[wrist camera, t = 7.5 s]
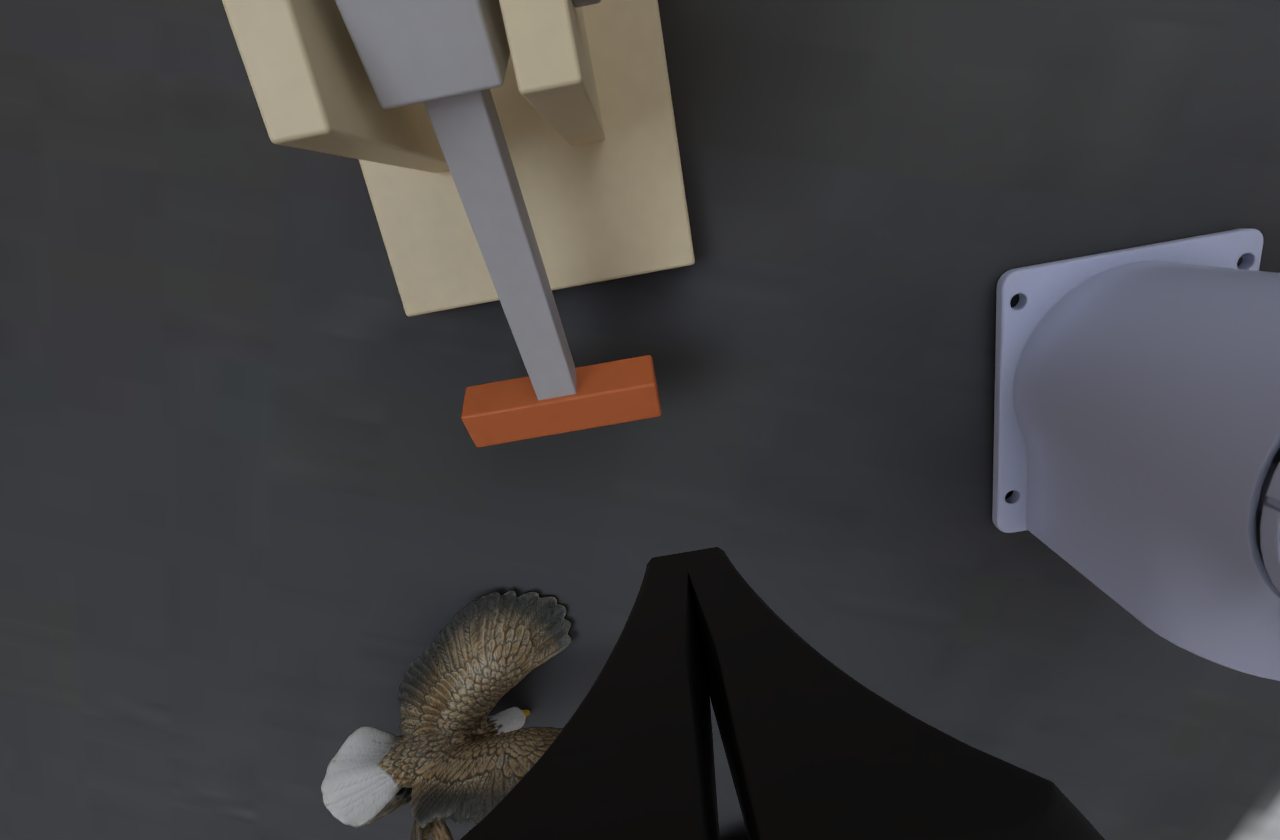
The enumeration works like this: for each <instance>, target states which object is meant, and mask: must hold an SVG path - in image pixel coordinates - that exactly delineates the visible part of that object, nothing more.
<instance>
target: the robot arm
mask: <svg viewBox="0 0 1280 840" xmlns="http://www.w3.org/2000/svg"><path fill="white" fill-rule="evenodd" d="M1262 248H1263V235H1262V234H1261V232H1260V231H1258V230H1257V229H1244V228H1239V229H1234V230H1228V231H1223V232H1217V233H1211V234H1206V235H1200V236H1195V237H1189V238H1183V239H1178V240H1172V241H1166V242H1161V243H1155V244H1150V245H1144V246H1138V247H1133V248H1127V249H1122V250H1116V251H1110V252H1105V253H1099V254H1093V255H1088V256H1082V257H1077V258H1071V259H1065V260H1060V261H1054V262H1049V263H1043V264H1037V265H1032V266H1026V267H1020V268H1015V269H1011V270H1008V271H1006V272H1005V273H1004V274H1003V275H1001V277H1000V279H999V280H998V283H997V293H996V346H995V399H994V453H993V506H992V520H993V524H994V525H995V526H996V527H997V528H998V529H999V530H1000V531H1002V532H1005V533H1013V532H1019V531H1025V530H1028V531H1029V532H1031V533H1032V534H1033V535H1034V536H1036V537H1037V538H1038V539H1039V540H1040V541H1042V542H1043V543H1044V544H1045V545H1047V546H1048V547H1049V548H1050V549H1052V550H1053V551H1054V552H1055V553H1056V554H1058V555H1059V556H1060V557H1061V558H1063V559H1064V560H1065V561H1066V562H1068V563H1069V564H1070V565H1071V566H1072V567H1074V568H1075V569H1076V570H1077V571H1079V572H1080V573H1081V574H1082V575H1084V576H1085V577H1086V578H1087V579H1088V580H1090V581H1091V582H1092V583H1093V584H1095V585H1096V586H1097V587H1098V588H1100V589H1101V590H1102V591H1103V592H1104V593H1106V594H1107V595H1108V596H1109V597H1111V598H1112V599H1113V600H1114V601H1116V602H1117V603H1118V604H1119V605H1120V606H1122V607H1123V608H1124V609H1125V610H1127V611H1128V612H1129V613H1130V614H1132V615H1133V616H1134V617H1135V618H1136V619H1138V620H1139V621H1140V622H1141V623H1143V624H1144V625H1145V626H1146V627H1148V628H1149V629H1151V630H1152V631H1154V632H1155V633H1157V634H1158V635H1159V636H1161V637H1163V638H1165V639H1166V640H1168V641H1170V642H1172V643H1173V644H1175V645H1177V646H1179V647H1181V648H1183V649H1185V650H1187V651H1189V652H1192V653H1194V654H1196V655H1198V656H1200V657H1203V658H1205V659H1208V660H1210V661H1213V662H1215V663H1218V664H1220V665H1223V666H1226V667H1228V668H1231V669H1234V670H1237V671H1241V672H1244V673H1247V674H1251V675H1254V676H1258V677H1262V678H1267V679H1271V680H1277V681H1280V273H1274V272H1264V271H1259V266H1260V260H1261V254H1262ZM1241 256H1242V262H1241V264H1240V265H1239V266H1238V267H1237V262H1238V259H1239V258H1240V257H1241ZM1016 294H1019V302H1018V304H1017V305H1016V306H1015V307H1012V308H1011V305H1010V301H1011V298H1012V297H1013V296H1014V295H1016ZM1012 490H1013V494H1012V495H1011V496H1010V497H1009V498H1006V499H1005V496H1006V494H1007V493H1008V492H1009V491H1012ZM710 698H711V702H712V706H713V709H714V713H715V717H716V720H717V724H718V728H719V731H720V735H721V738H722V742H723V746H724V749H725V753H726V757H727V760H728V764H729V768H730V771H731V775H732V778H733V782H734V786H735V789H736V793H737V797H738V800H739V804H740V807H741V811H742V815H743V819H744V823H745V827H746V832H747V836H748V840H1105V839H1104V838H1103V837H1102V836H1101V835H1100V834H1099V832H1098V831H1097V830H1096V829H1095V828H1094V827H1093V826H1092V824H1091V823H1090V822H1089V821H1088V820H1087V819H1086V818H1085V817H1084V816H1083V815H1082V814H1081V812H1080V811H1079V810H1078V809H1077V808H1076V807H1075V806H1074V805H1073V804H1072V803H1071V802H1070V801H1069V800H1068V798H1067V797H1066V796H1065V795H1064V794H1063V793H1062V792H1061V791H1060V790H1059V789H1058V788H1057V786H1056V785H1055V784H1054V783H1052V782H1051V781H1049V780H1046V779H1044V778H1042V777H1040V776H1037V775H1035V774H1033V773H1030V772H1028V771H1026V770H1024V769H1021V768H1019V767H1017V766H1014V765H1012V764H1010V763H1008V762H1005V761H1003V760H1001V759H998V758H996V757H994V756H992V755H989V754H987V753H985V752H982V751H980V750H978V749H976V748H973V747H971V746H969V745H967V744H965V743H963V742H961V741H959V740H957V739H955V738H953V737H951V736H949V735H947V734H945V733H943V732H941V731H940V730H938V729H936V728H934V727H932V726H930V725H928V724H926V723H924V722H922V721H920V720H919V719H917V718H915V717H913V716H912V715H910V714H908V713H907V712H905V711H903V710H902V709H900V708H898V707H897V706H895V705H893V704H892V703H890V702H888V701H887V700H885V699H884V698H882V697H880V696H879V695H877V694H875V693H874V692H872V691H870V690H869V689H867V688H866V687H864V686H863V685H862V684H860V683H859V682H857V681H856V680H854V679H853V678H852V677H850V676H849V675H847V674H846V673H844V672H843V671H842V670H840V669H839V668H838V667H837V666H835V665H834V664H833V663H831V662H830V661H829V660H827V659H826V658H825V657H823V656H822V655H821V654H820V653H819V652H817V651H816V650H815V649H814V648H812V647H811V646H810V645H809V644H808V643H807V642H805V641H804V640H803V639H802V638H801V637H800V636H799V635H798V634H796V633H795V632H794V631H793V630H792V629H791V628H790V627H789V626H788V625H787V624H786V623H784V622H783V621H782V620H781V619H780V618H779V617H778V616H777V615H776V614H775V613H774V612H773V611H772V610H771V609H770V608H769V606H768V605H767V604H766V603H765V602H764V601H763V600H762V599H761V598H760V597H759V596H758V595H757V594H756V593H755V592H754V590H753V589H752V588H751V587H750V586H749V585H748V584H747V582H746V581H745V580H744V579H743V577H742V576H741V575H740V574H739V572H738V571H737V570H736V569H735V567H734V566H733V565H732V563H731V562H730V560H729V559H728V557H727V556H726V554H725V552H724V551H723V550H721V549H720V548H718V547H715V548H709V549H703V550H697V551H691V552H685V553H679V554H672V555H666V556H660V557H654V558H652V559H651V560H650V561H649V563H648V564H647V568H646V572H645V576H644V579H643V582H642V585H641V588H640V591H639V594H638V596H637V599H636V602H635V604H634V606H633V609H632V611H631V613H630V616H629V618H628V620H627V622H626V625H625V627H624V629H623V631H622V633H621V636H620V638H619V639H618V641H617V643H616V645H615V647H614V649H613V651H612V653H611V655H610V656H609V658H608V660H607V662H606V664H605V666H604V668H603V669H602V671H601V673H600V675H599V676H598V678H597V680H596V681H595V683H594V685H593V686H592V688H591V689H590V691H589V692H588V694H587V695H586V697H585V698H584V700H583V701H582V703H581V704H580V706H579V707H578V709H577V710H576V712H575V713H574V715H573V716H572V717H571V719H570V720H569V721H568V723H567V724H566V725H565V727H564V728H563V729H562V731H561V732H560V733H559V735H558V736H557V737H556V739H555V740H554V741H553V743H552V744H551V745H550V746H549V748H548V749H547V750H546V751H545V753H544V754H543V755H542V756H541V758H540V759H539V760H538V761H537V762H536V763H535V765H534V766H533V767H532V768H531V769H530V770H529V771H528V772H527V773H526V774H525V776H524V777H523V778H522V779H521V780H520V781H519V782H518V783H517V784H516V785H515V787H514V788H513V789H512V790H511V791H510V792H509V793H508V794H507V795H506V796H505V797H504V798H503V800H502V801H501V802H500V803H499V804H498V805H497V806H496V807H495V808H494V809H493V810H492V811H491V812H490V813H489V814H488V815H487V816H486V817H484V818H483V819H482V820H481V821H480V822H479V823H478V824H477V825H476V826H475V827H474V828H473V829H471V830H470V831H469V832H468V833H467V834H466V835H465V836H464V837H463V838H462V839H460V840H720V833H719V823H718V811H717V797H716V782H715V767H714V753H713V738H712V724H711V709H710Z"/></svg>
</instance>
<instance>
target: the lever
mask: <svg viewBox="0 0 1280 840" xmlns="http://www.w3.org/2000/svg"><path fill="white" fill-rule="evenodd" d="M335 2H336V4H337V6H338V9H339V11H340V13H341V16H342V18H343V20H344V22H345V25H346V27H347V29H348V32H349V34H350V36H351V39H352V41H353V43H354V45H355V48H356V50H357V52H358V55H359V57H360V59H361V62H362V64H363V66H364V68H365V71H366V73H367V75H368V78H369V80H370V82H371V85H372V87H373V89H374V91H375V94H376V96H377V98H378V101H379V103H380V105H381V107H382V108H383V109H391V108H396V107H401V106H406V105H411V104H416V103H421V102H424V105H425V107H426V110H427V113H428V115H429V118H430V120H431V123H432V126H433V128H434V131H435V133H436V136H437V139H438V141H439V144H440V146H441V149H442V152H443V154H444V157H445V159H446V162H447V165H448V167H449V170H450V172H451V175H452V178H453V180H454V183H455V185H456V188H457V191H458V193H459V196H460V198H461V201H462V204H463V206H464V209H465V211H466V214H467V217H468V219H469V222H470V224H471V227H472V230H473V232H474V235H475V237H476V240H477V243H478V245H479V248H480V250H481V253H482V256H483V258H484V261H485V263H486V266H487V268H488V271H489V274H490V276H491V279H492V281H493V284H494V287H495V289H496V292H497V294H498V297H499V300H500V302H501V305H502V307H503V310H504V313H505V315H506V318H507V320H508V323H509V326H510V328H511V331H512V333H513V336H514V339H515V341H516V344H517V346H518V349H519V352H520V354H521V357H522V359H523V362H524V365H525V367H526V370H527V372H528V375H529V376H526V377H521V378H515V379H509V380H504V381H498V382H492V383H487V384H481V385H475V386H470V387H467V388H466V392H465V398H464V404H463V410H462V416H461V418H462V420H463V422H464V424H465V426H466V428H467V430H468V432H469V434H470V436H471V437H472V439H473V441H474V443H475V445H476V447H484V446H490V445H496V444H502V443H508V442H513V441H519V440H525V439H531V438H537V437H543V436H548V435H554V434H560V433H566V432H572V431H578V430H583V429H589V428H595V427H601V426H607V425H613V424H618V423H624V422H630V421H636V420H642V419H648V418H653V417H659V416H661V406H660V400H659V394H658V388H657V382H656V377H655V371H654V366H653V360H652V357H651V355H645V356H640V357H634V358H628V359H623V360H617V361H611V362H606V363H600V364H594V365H589V366H583V367H577V368H575V365H574V362H573V359H572V355H571V352H570V349H569V346H568V342H567V339H566V336H565V333H564V329H563V326H562V323H561V320H560V316H559V313H558V310H557V306H556V303H555V300H554V297H553V293H552V290H551V287H550V284H549V280H548V277H547V274H546V271H545V267H544V264H543V261H542V258H541V254H540V251H539V248H538V244H537V241H536V238H535V235H534V231H533V228H532V225H531V222H530V218H529V215H528V212H527V209H526V205H525V202H524V199H523V195H522V192H521V189H520V186H519V182H518V179H517V176H516V173H515V169H514V166H513V163H512V160H511V156H510V153H509V150H508V146H507V143H506V140H505V137H504V133H503V130H502V127H501V124H500V120H499V117H498V114H497V111H496V107H495V104H494V101H493V97H492V94H491V91H490V89H491V88H496V87H500V86H502V85H503V82H504V78H505V73H506V69H507V64H508V59H509V55H510V49H509V44H508V39H507V35H506V30H505V26H504V21H503V16H502V12H501V7H500V3H499V0H335Z"/></svg>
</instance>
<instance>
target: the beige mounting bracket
mask: <svg viewBox="0 0 1280 840" xmlns="http://www.w3.org/2000/svg"><path fill="white" fill-rule="evenodd" d="M222 2H223V5H224V8H225V11H226V14H227V17H228V20H229V23H230V25H231V28H232V31H233V34H234V37H235V40H236V43H237V46H238V48H239V51H240V54H241V57H242V60H243V63H244V66H245V69H246V71H247V74H248V77H249V80H250V83H251V86H252V89H253V92H254V94H255V97H256V100H257V103H258V106H259V109H260V112H261V115H262V118H263V120H264V123H265V126H266V129H267V132H268V135H269V138H270V140H271V141H272V142H273V143H274V144H278V145H284V146H289V147H295V148H300V149H306V150H311V151H317V152H322V153H328V154H333V155H339V156H344V157H350V158H355V159H359V162H360V165H361V169H362V172H363V175H364V179H365V182H366V185H367V188H368V192H369V195H370V198H371V201H372V205H373V208H374V211H375V214H376V218H377V221H378V224H379V228H380V231H381V234H382V237H383V241H384V244H385V247H386V250H387V254H388V257H389V260H390V263H391V267H392V270H393V273H394V277H395V280H396V283H397V286H398V290H399V293H400V296H401V299H402V303H403V306H404V309H405V313H406V315H407V316H416V315H421V314H426V313H432V312H437V311H443V310H448V309H454V308H459V307H465V306H470V305H476V304H481V303H487V302H492V301H498V300H499V297H498V294H497V292H496V289H495V287H494V284H493V281H492V279H491V276H490V274H489V271H488V268H487V266H486V263H485V261H484V258H483V256H482V253H481V250H480V248H479V245H478V243H477V240H476V237H475V235H474V232H473V230H472V227H471V224H470V222H469V219H468V217H467V214H466V211H465V209H464V206H463V204H462V201H461V198H460V196H459V193H458V191H457V188H456V185H455V183H454V180H453V178H452V175H451V172H450V170H449V167H448V165H447V162H446V159H445V157H444V154H443V152H442V149H441V146H440V144H439V141H438V139H437V136H436V133H435V131H434V128H433V126H432V123H431V120H430V118H429V115H428V113H427V110H426V107H425V105H424V102H421V103H416V104H411V105H406V106H401V107H396V108H391V109H383V108H382V107H381V105H380V103H379V101H378V98H377V96H376V94H375V91H374V89H373V87H372V85H371V82H370V80H369V78H368V75H367V73H366V71H365V68H364V66H363V64H362V62H361V59H360V57H359V55H358V52H357V50H356V48H355V45H354V43H353V41H352V39H351V36H350V34H349V32H348V29H347V27H346V25H345V22H344V20H343V18H342V16H341V13H340V11H339V9H338V6H337V4H336V2H335V0H222ZM499 3H500V7H501V12H502V16H503V21H504V26H505V30H506V35H507V39H508V44H509V49H510V55H509V59H508V64H507V69H506V73H505V78H504V82H503V85H502V86H500V87H496V88H491V89H490V91H491V94H492V97H493V101H494V104H495V107H496V111H497V114H498V117H499V120H500V124H501V127H502V130H503V133H504V137H505V140H506V143H507V146H508V150H509V153H510V156H511V160H512V163H513V166H514V169H515V173H516V176H517V179H518V182H519V186H520V189H521V192H522V195H523V199H524V202H525V205H526V209H527V212H528V215H529V218H530V222H531V225H532V228H533V231H534V235H535V238H536V241H537V244H538V248H539V251H540V254H541V258H542V261H543V264H544V267H545V271H546V274H547V277H548V280H549V284H550V287H551V290H558V289H563V288H569V287H574V286H580V285H585V284H591V283H596V282H601V281H607V280H612V279H618V278H623V277H629V276H634V275H640V274H645V273H651V272H656V271H662V270H667V269H673V268H678V267H683V266H689V265H693V264H694V263H695V259H694V252H693V245H692V238H691V231H690V224H689V217H688V210H687V203H686V196H685V189H684V182H683V175H682V168H681V161H680V154H679V147H678V140H677V133H676V126H675V119H674V112H673V105H672V98H671V91H670V84H669V77H668V70H667V63H666V56H665V49H664V42H663V35H662V28H661V21H660V14H659V7H658V0H499Z"/></svg>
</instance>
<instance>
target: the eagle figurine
mask: <svg viewBox="0 0 1280 840" xmlns="http://www.w3.org/2000/svg"><path fill="white" fill-rule="evenodd" d="M565 615H566V608H565V606H564V605H559V604H557V599H556V598H555V597H552V596H548V597H543V598H540V597H539V594H538V593H535V592H528V593H525V594H523V595H521V596H520V597H518V598H517V597H516V593H515V591H511V590H510V591H508V592H507V593H505V594H503V595H501V596H500V593H497V592H494V593H491V594H489V595H486V596H483V597H481V598H480V599H479V600H478V601H474V602H470V603H469V604H467V606H466V607H465V609H464V610H462V611H458V612H457V613H456V614H455V616H454V618H453V621H452V622H451V623H450V624H448V625H447V626H446V627H445V628H444V629H443V630H441V632H440V633H439V636H438V640H437V641H433V642H432V643H431V645H430V646H429V648H427V649H425V651H424V652H423V654H422V657H421V658H419V657H418V658H416V659H415V661H414V662H413V663H411V664H410V665H409V669H408V670H407V671H406V673H405V675H404V681H403V683H402V684H401V685H400V687H399V690H400V694H399V698H398V700H399V702H400V705H401V708H400V716H401V717H402V719H403V721H402V723H401V724H400V729H401V732H402V736H395V735H394V734H392V733H388V732H385V731H383V730H379V729H377V728H373V727H366V726H365V727H360V728H359V729H357V730H355V732H354V733H352V734H351V735H350V736H349V737H348V738H347V739H346V741H345V742H344V744H343V745H342V747H341V748H340V750H339V751H338V753H337V754H336V755H335V756H334V757H333V758H332V760H331V761H330V763H329V765H328V767H327V771H326V776H325V778H324V780H323V782H322V785H321V791H322V793H323V802H324V804H325V806H326V807H327V809H328V810H329V811H330V812H331V813H332V815H333V816H334V817H335V818H337V819H338V820H340V821H341V822H342V823H343V824H346V825H351V826H353V827H360V826H363V825H369V824H371V823H373V822H374V821H376V820H377V819H379V818H381V817H383V816H385V815H387V814H389V813H390V812H392V811H394V810H395V809H397V808H398V807H400V806H402V805H406V804H407V803H408V802H409V801H410V800H411V801H410V806H411V808H412V809H411V814H412V815H413V818H414V819H415V820H414V824H413V829H412V834H411V839H410V840H427V839H428V838H429V836H430V834H431V835H432V837H433V838H434V840H453V838H452V834H451V832H450V830H449V828H448V826H447V825H446V823H445V819H448V818H450V819H451V820H453V821H454V822H455V823H461V822H470V821H474V822H476V824H478V823H479V822H480V821H481V820H482V819H483V818H484V817H486V816H487V815H488V814H489V813H490V812H491V811H492V810H493V809H494V808H495V807H496V806H497V805H498V804H499V803H500V802H501V801H502V800H503V798H504V797H505V796H506V795H507V794H508V793H509V792H510V791H511V790H512V789H513V788H514V787H515V785H516V784H517V783H518V782H519V781H520V780H521V779H522V778H523V777H524V776H525V774H526V773H527V772H528V771H529V770H530V769H531V768H532V767H533V766H534V765H535V763H536V762H537V761H538V760H539V759H540V758H541V756H542V755H543V754H544V753H545V751H546V750H547V749H548V748H549V746H550V745H551V744H552V743H553V741H554V740H555V739H556V737H557V736H558V735H559V733H560V732H561V731H562V729H563V728H559V729H557V728H553V727H529V728H523V729H519V728H521V727H522V726H523V725H524V723H525V718H526V717H527V716H528V715H529V714H530V711H529V710H527V709H525V710H521V709H519V708H518V707H512V708H509V709H507V710H504V711H501V712H499V713H497V714H495V715H491V716H488V714H489V713H490V711H491V710H492V709H493V707H494V706H495V705H496V703H497V702H498V701H499V700H500V699H501V698H502V697H503V696H504V695H505V694H506V693H507V692H508V691H509V690H510V689H511V688H513V687H514V686H515V685H516V684H518V683H519V682H520V681H521V680H522V679H523V678H524V677H525V676H526V675H527V674H528V673H529V672H530V671H532V670H534V669H535V668H537V667H538V666H540V665H541V664H543V663H545V662H546V661H548V660H549V659H550V658H552V657H554V656H555V655H557V654H559V653H560V652H562V651H563V650H564V649H565V648H566V647H568V646H569V645H570V644H571V638H570V636H569V635H568V632H569V629H570V627H571V623H570V622H569V621H568V620H566V619H564V617H565Z"/></svg>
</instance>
